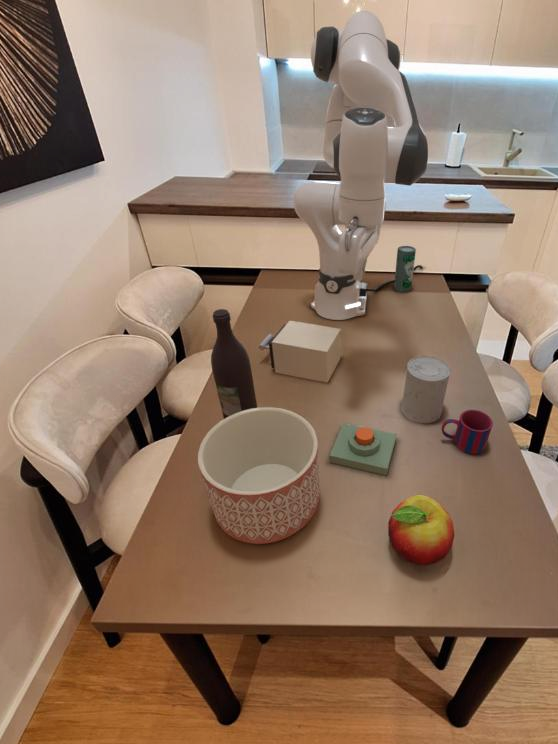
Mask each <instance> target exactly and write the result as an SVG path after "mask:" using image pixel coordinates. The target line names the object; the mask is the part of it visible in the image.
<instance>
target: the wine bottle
mask: <svg viewBox="0 0 558 744" xmlns="http://www.w3.org/2000/svg"><path fill="white" fill-rule="evenodd" d="M212 319H213V323H214V325H215V328H216V339H215V342H214V345H213V348H212V351H211V355H210V364H211V365H210V366H211V370H212V374H213V379H214V383H215V388H216V392H217V396H218V401H219V404H220V409H221V414H222V418H223V420H224V419H225V418H227V417H229V416H231V415H233V414H235V413H238V412H241V411H244V410H248V409H253V408H258V402H257V396H256V391H255V384H254V383H255V382H254V378H253V372H252V366H251V365H252V364H251V361H250V357H249V354H248V352H247V350H246V348H245V347H244V345H243V343H242V342H241V341H239V340H238V339H237V337H236V336H235V334H234V332H233V330H232V325H231V320H232V318H231V313H230V312H229V310H228V309H224V308H220V309H216V310H214V311H213V313H212Z"/></svg>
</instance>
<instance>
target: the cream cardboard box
mask: <svg viewBox="0 0 558 744" xmlns="http://www.w3.org/2000/svg"><path fill="white" fill-rule="evenodd" d="M285 324H286V326H285V327H284V328H283V329H282V330H281V332H280V333H279V334H278V335H277V336H276V338H275V339H274V340H273V341H272V348H273V357H274V366H275V368H274V372H275V374H280V375H285V376H290V377H296V378H300V379H306V380H310V381H317V382H320V383H321V382H322V383H327V384H328V383H329V381H330V379H331V377H332V375H333V373H335V370H336V368H337V366H338V364H339V362H340V360H341V357H342V356H341V355H342V354H341V353H342V352H341V351H342V350H341V347H342V346H341V343H342V342H341V339H342V337H341V336H342V334H341V333H342V332H341V331H342V329H341V328H337V327H332V326H325V325H321V324H319V325H318V324H314V323H308V322H301V321H296V320H295V321H294V320H288V322H287V323H285Z"/></svg>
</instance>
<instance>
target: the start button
mask: <svg viewBox="0 0 558 744" xmlns="http://www.w3.org/2000/svg"><path fill="white" fill-rule="evenodd" d="M362 427H363V428H359V429H358V430H357V431H356V442H357V443H358V444H359V445H362V446H367V445H370V444H371V443H372V442H373V431H372V430H371V429H369V428H370V427H367V428H366V426H362Z"/></svg>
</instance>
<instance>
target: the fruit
mask: <svg viewBox="0 0 558 744" xmlns="http://www.w3.org/2000/svg"><path fill="white" fill-rule="evenodd" d="M387 524H388V526H387V528H388V529H387V531H388V532H387V535H388V538H389V541H390V544H391V547H392V548H393V550H394V551H395V552H396V554H397V555H398V556H399V557H400V558H401V559H402V560H404V561H405V562H406V563H409V564H411V565H414V566H419V567H420V566H421V567H429V566H433V565H435V564H438V563H439V562H441V561H442V560H443V559H445V558H446V557H447V556H448V554H449V552H450V551H451V550H452V547H453V544H454V540H455V527H454V521H453V520H452V517H451V516H450V514H449V512H448V511H447V510H446V509H445V507H443V505H442V504H440V502H438V501H436V500H435V499H433V498H431V497H429V496H427V495H425V494H416V495H412V496H408V497H407V498H406V499H404V500H402V501H401V502H399V504H397V506H396V507H395V508H394V509H393V510H392V512H391V515H390V517H389V519H388V523H387Z"/></svg>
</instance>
